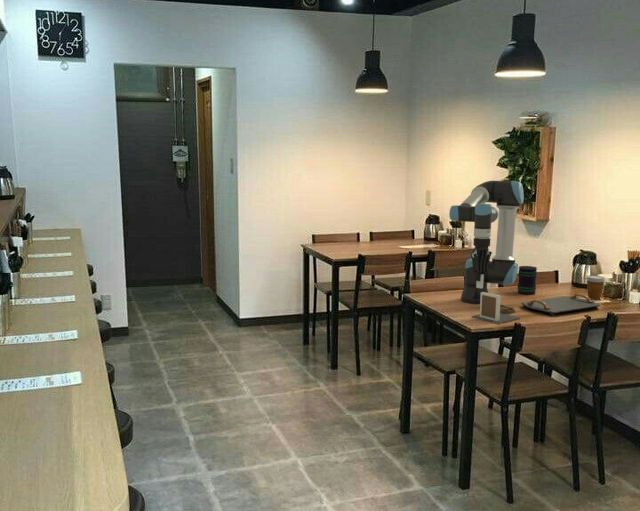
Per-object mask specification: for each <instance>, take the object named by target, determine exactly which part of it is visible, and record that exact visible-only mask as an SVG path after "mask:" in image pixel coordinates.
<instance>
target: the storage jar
mask: <svg viewBox="0 0 640 511" xmlns="http://www.w3.org/2000/svg"><path fill="white" fill-rule="evenodd" d="M537 268H538V267H536V266H531V265H520V266H518V272H517V277H518V283H517V294H518V295H522V296H534V295H536V290H537V284H536V282H537V281H536V280H537V276H538V275H537V274H538V273H537V270H538V269H537Z"/></svg>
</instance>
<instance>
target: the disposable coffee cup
mask: <svg viewBox="0 0 640 511" xmlns="http://www.w3.org/2000/svg"><path fill="white" fill-rule="evenodd" d="M585 279H586V287H587V296H588V297H589V298H591V300H595V299H597V300H601V297H602V293H603V288H604V284H605V282H606V279H605V277H604V276H602V275H587V276H586V278H585Z"/></svg>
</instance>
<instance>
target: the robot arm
mask: <svg viewBox="0 0 640 511" xmlns="http://www.w3.org/2000/svg"><path fill="white" fill-rule="evenodd" d="M524 199H525V196H524V187H523V184H522V182H520V181H518V180H517V181H516V180H489V181H485V182H483V183H479V184H478V185H476V186H475V187H474V188H473V189H471V192H470V194H469V195H468V196H467V197H466V198H465V199H464V200H463V201H462V202H461V204H460V205H457V204H455V205H451V207H450V209H449V219H450V220H451V221H453V222H462V223H463V222H464V223H465V222H467V223H469V222H470V223H474V225H473V227H474V228H473V246H474V252H471V253H470V257H471V258H468V259H467V260H466V261H465V269H464V270H465V271H464V272H465V273H464V288H463V289H462V293H461V296H460V301H461V302H464V303H468V304H475V305H476V304H478V305H480V297H481V292H486V293H489V290H488V284H494V285H495V284H496V285H503V286H505V285H506V286H507V285H508V286H510V285H511V286H512V285H513V284H514V283H515V281H516V279H517V277H518V272H519V265H518V264H519V263H516V259H515V258H514V257H513V255H514V254H513V253H514V242H515V230H516V229H515V228H516V218H517V210H518V209H520V207H521V206H520V205H522V204H523V203H524ZM490 203H492V204H494V203H495V204H496V207H494V206H492V204H490ZM495 221H497V230H496V231H497V232H496V242H495V243H496V245H495V255H494V256H493V257H491V256H492V253H493V252H492V251H490V250H489V247H491V235H492V223H494V222H495ZM491 258H492V259H491ZM490 259H491V260H490Z"/></svg>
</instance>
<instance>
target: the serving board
mask: <svg viewBox="0 0 640 511" xmlns="http://www.w3.org/2000/svg"><path fill="white" fill-rule="evenodd" d="M579 297H581V298H579ZM520 304H521V305H522V308H523V309H526V308H530V309H532V310H535V311H536V310H537V311H539V312H541V311H542V312H545V313H549V316H550V317H555V314H558V313H564V312H572V311H578V310H584V309H589V308H592V309H593V310H598V309H599V307H601V305H600V304H599V303H596V302H595V301H593V300H592V299H590V298H589V297H588V295H585V294H584V293H575V294H574V295H570V296H566V295H564V296H563V295H562V296H556V297H550V298H542V299H541V298H540V299H532V300H528V301H522V302H521V303H520Z"/></svg>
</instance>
